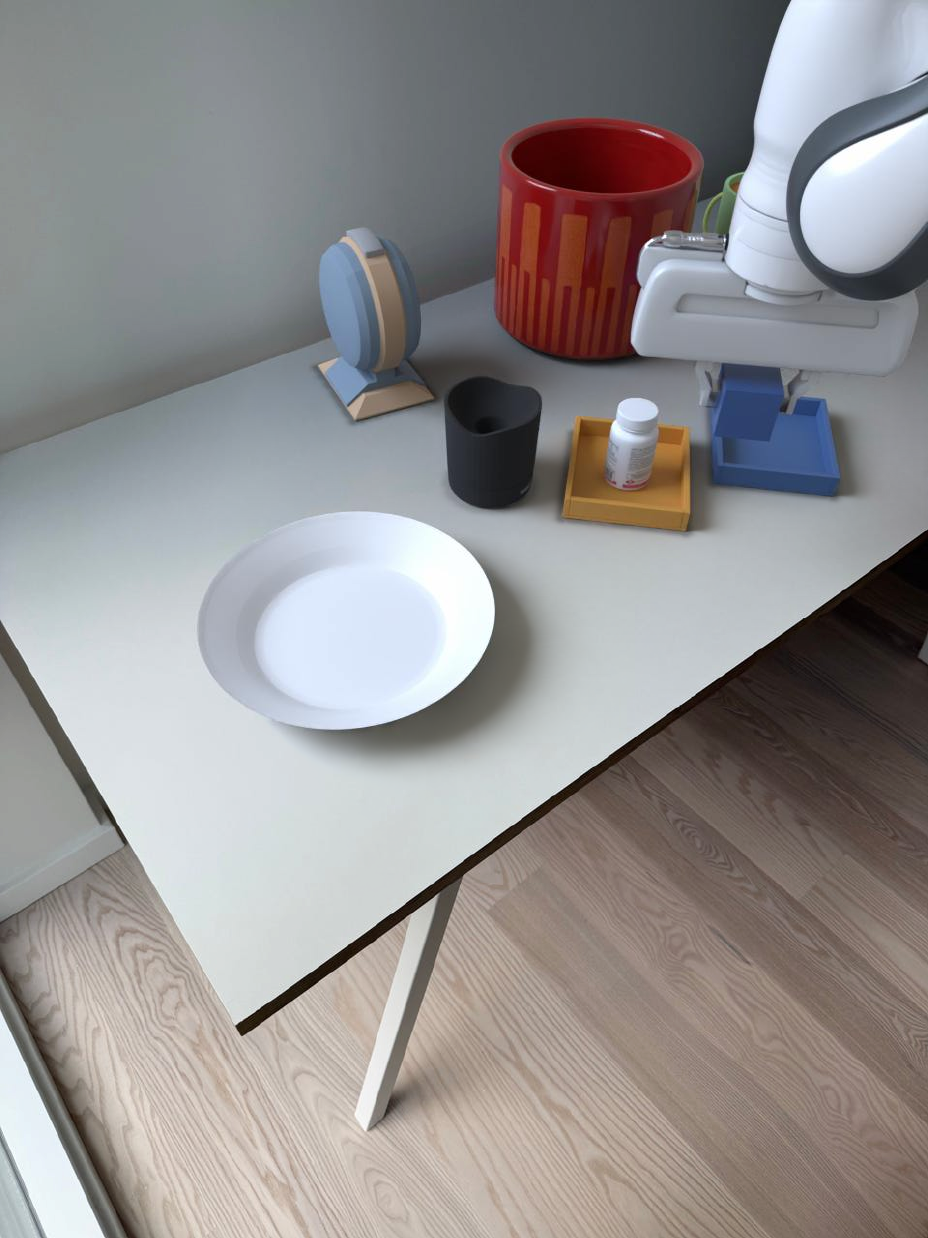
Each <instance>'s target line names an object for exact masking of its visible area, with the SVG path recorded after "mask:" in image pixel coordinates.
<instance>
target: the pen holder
mask: <svg viewBox="0 0 928 1238" xmlns="http://www.w3.org/2000/svg"><path fill="white" fill-rule="evenodd" d="M443 409H444V411H443V412H444V430H445V447H446V464H447V478H448V484H449V487H450V489H451V491H452V493H454V495H455V496H456V497H458V499H460V500H461V501H463V502H465V503H466V504H468V505H472V506H474V507H477V508H484V509H498V508H499V509H501V508H504V507H509V506H512V505H513V504H516V503H517V502H519V501H520V500H522V499H523V498H524V497H526V496H527V494H528V493H529V492H530V489H531V487H532V483H533V478H534V472H535V465H536V457H537V450H538V443H539V442H538V441H539V434H540V425H541V420H542V419H541V418H542V411H543V410H542V409H543V399H542V396H541V394H540V392H539V391H538V390H537V389H536V388H534V387H532V386H529V385H521V384H520V385H519V384H512V383H508V382H505V381H503V380H501V379H498V378H495V377H493V376H489V375H482V374H479V375H471V376H468V377H465V378H463V379H460V380H458V381H457V382H455V383H454V384H452V385H451V386H450V387H449V388H448V389H447V390H446V392H445V394H444V398H443Z"/></svg>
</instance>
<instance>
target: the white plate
mask: <svg viewBox="0 0 928 1238" xmlns="http://www.w3.org/2000/svg"><path fill="white" fill-rule="evenodd" d="M495 608H496V607H495V599H494V593H493V590H492V586H491V584H490V581H489V578H488V577H487V575H486V573H485V570H484V569H483V568H482V566H481V564H480V563H479V562H478V561H477V559H476V558H475V557H474V556H473V555H472V553H471V552H470V551H469V550H468V549H466V547H464V546H463V545H462V543H460V542H459V541H457V539H454V537H452V536H450V535H448V533H447V534H446V533H445V532H443V531H441V530H439V529H438V528H436V527H434V526H431V525H430V524H428V523H424V522H422V521H419V520H416V519H414V518H410V517H406V516H402V515H398V514H392V513H386V512H380V511H379V512H377V511H363V510H362V511H361V510H360V511H358V510H356V511H354V510H353V511H338V512H337V511H336V512H330V513H324V514H318V515H313V516H310V517H305V518H301V519H298V520H295V521H291V522H289V523H287V524H284V525H282V526H279V527H277V528H274V529H272V530H271V531H268V532H267V533H264V534H263V535H260V536H259V537H258V538H256V539H254V540H252V541H251V542H249V543H248V544H247V545H245V546H244V547H242V548H241V549H240V550H239V551H237V553H234V555H233V556H231V558H230V559H229V560H227V562H225V564H224V565H222V567H221V568H220V569H219V570H218V572H217V573H216V575H215V576H214V577H213V579H212V580H211V582H210V583H209V585H208V587H207V589H206V591H205V593H204V596H203V598H202V600H201V603H200V606H199V610H198V615H197V616H198V617H197V624H196V635H197V645H198V648H199V652H200V655H201V658H202V660H203V663H204V665H205V667H206V668H207V670H208V672H209V674H210V675H211V677H212V678H213V680H214V681H215V682H216V683H217V684H218V686H219V687H220V688H221V690H223V691H224V692H225V693H226V694H227V695H229V696H230V697H231V698H232V699H233V700H234V701H236V702H238V703H239V704H240V705H242V706H243V707H245V708H246V709H249V710H250V711H252V712H254V713H256V714H259V715H260V716H262V717H264V718H268V719H271V720H273V721H276V722H278V723H282V724H286V725H290V726H294V727H295V726H296V727H300V728H306V729H314V730H333V731H335V730H352V729H363V728H367V727H373V726H378V725H384V724H386V723H387V724H388V723H390V722H393V721H397V720H399V719H402V718H406V717H407V716H410V715H413V714H415V713H418V712H419V711H421V710H423V709H426V708H427V707H429V706H431V705H433V704H435V703H436V702H437V701H439V700H441V699H442V698H444V697H445V696H446V695H448V694H449V693H451V692H452V691H453V690H455V688H457V687H458V686H459V685H460V684H461V683H462V682H463V681H464V680H466V678H467V677H468V676H469V675H470V674H471V673H472V671H473V670H474V668H476V666H477V665H478V663H479V662H480V660H481V659H482V657H483V655H484V653H485V651H486V649H487V648H488V644H489V643H490V639H491V637H492V633H493V631H494V630H493V629H494V626H495V625H494V624H495V612H496V611H495V610H496V609H495Z"/></svg>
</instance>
